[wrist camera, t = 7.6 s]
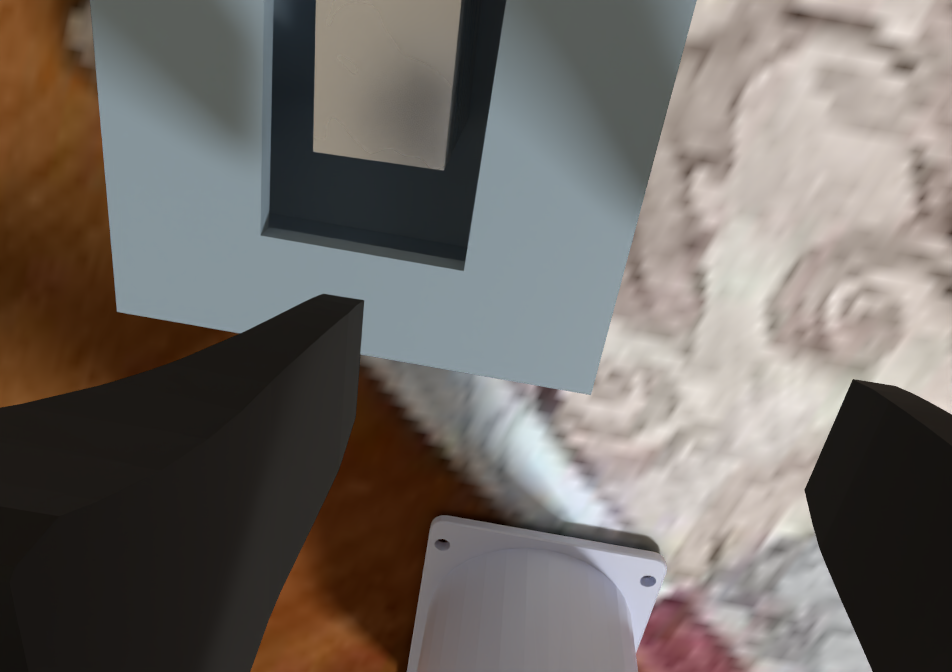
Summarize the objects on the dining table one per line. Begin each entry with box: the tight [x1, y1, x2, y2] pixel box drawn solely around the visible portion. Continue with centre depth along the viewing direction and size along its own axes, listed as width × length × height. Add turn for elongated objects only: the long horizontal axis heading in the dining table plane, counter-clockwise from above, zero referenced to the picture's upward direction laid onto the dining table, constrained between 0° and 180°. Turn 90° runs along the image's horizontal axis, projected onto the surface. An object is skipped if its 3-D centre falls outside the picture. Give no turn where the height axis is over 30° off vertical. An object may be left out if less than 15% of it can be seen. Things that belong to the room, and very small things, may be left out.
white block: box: [313, 0, 482, 171], centre depth 15 cm, size 5×2×5 cm, turn 173°
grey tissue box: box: [90, 0, 697, 395], centre depth 15 cm, size 12×10×6 cm
